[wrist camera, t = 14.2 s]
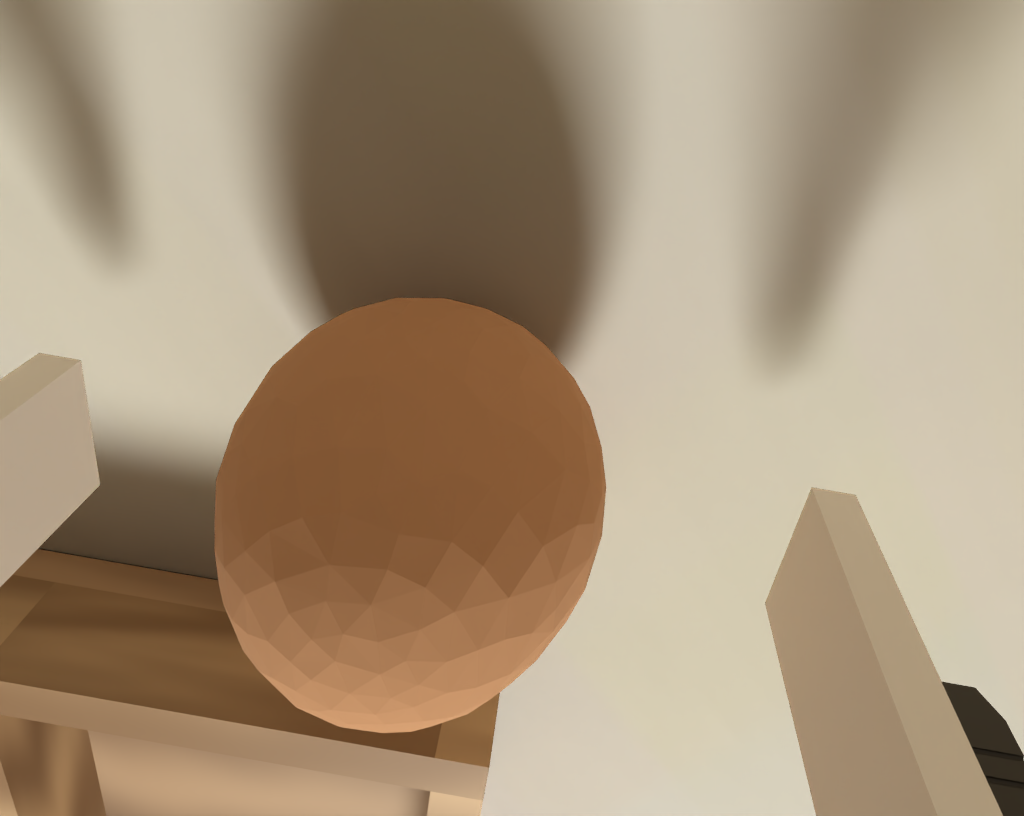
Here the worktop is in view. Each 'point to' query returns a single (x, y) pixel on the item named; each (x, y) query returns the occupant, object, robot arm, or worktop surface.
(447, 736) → the wooden divided tray
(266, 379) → the egg
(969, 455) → the worktop surface
